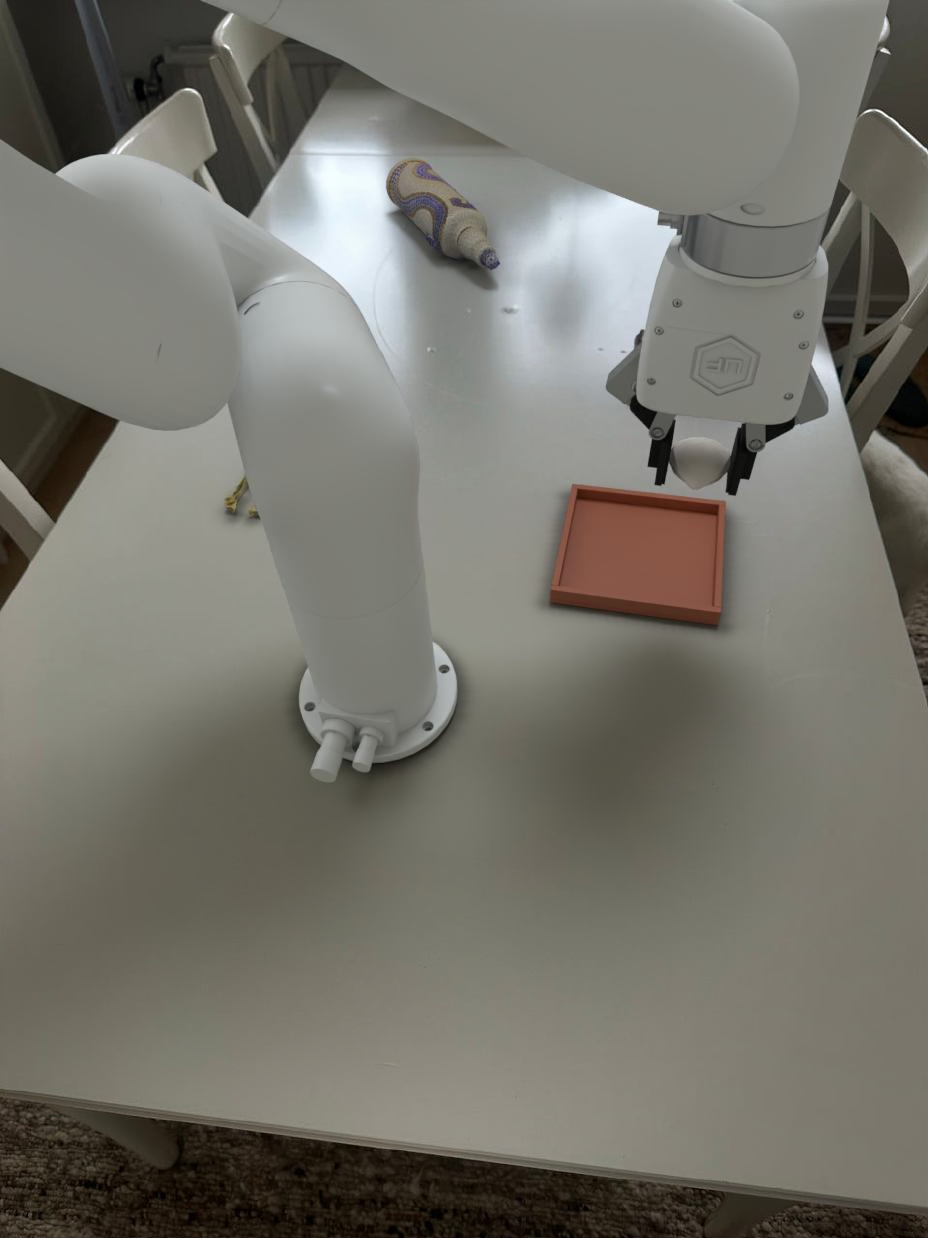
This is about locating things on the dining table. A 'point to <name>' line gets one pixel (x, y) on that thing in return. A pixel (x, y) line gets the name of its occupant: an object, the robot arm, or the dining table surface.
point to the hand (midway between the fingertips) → (696, 475)
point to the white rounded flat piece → (699, 461)
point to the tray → (642, 554)
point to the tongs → (232, 499)
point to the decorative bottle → (440, 212)
